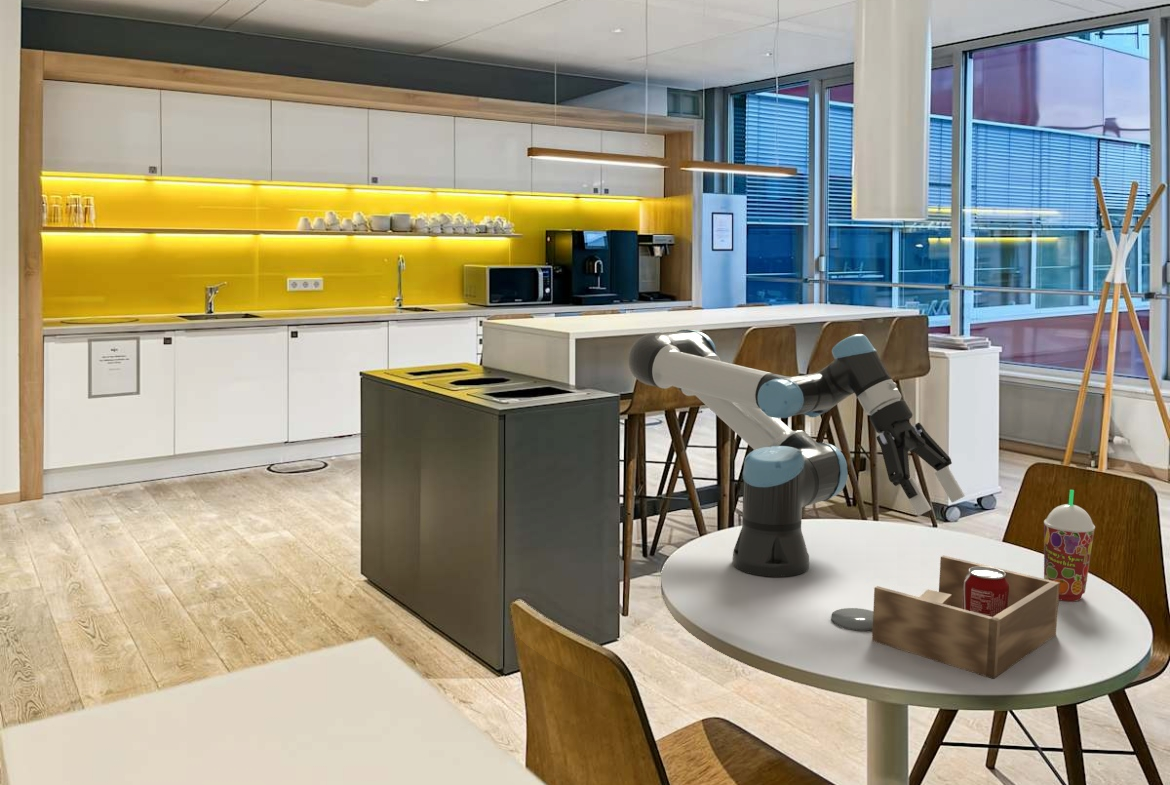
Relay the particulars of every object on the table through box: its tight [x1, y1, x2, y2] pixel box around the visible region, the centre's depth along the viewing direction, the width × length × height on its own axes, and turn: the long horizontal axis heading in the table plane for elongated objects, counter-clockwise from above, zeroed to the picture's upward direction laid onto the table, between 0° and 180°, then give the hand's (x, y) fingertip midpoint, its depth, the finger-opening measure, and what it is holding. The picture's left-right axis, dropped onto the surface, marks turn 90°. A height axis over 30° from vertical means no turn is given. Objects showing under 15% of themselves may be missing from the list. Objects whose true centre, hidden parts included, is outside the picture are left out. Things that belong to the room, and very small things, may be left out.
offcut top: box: [919, 589, 952, 606], centre depth 165 cm, size 4×6×3 cm, turn 144°
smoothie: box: [1043, 489, 1096, 602], centre depth 179 cm, size 8×8×20 cm
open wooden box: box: [871, 555, 1060, 679], centre depth 161 cm, size 20×24×9 cm
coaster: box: [830, 607, 873, 632], centre depth 169 cm, size 9×9×1 cm
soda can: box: [962, 566, 1009, 617], centre depth 158 cm, size 7×7×12 cm
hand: (942, 506), depth 185 cm, fingers open, 13 cm apart
